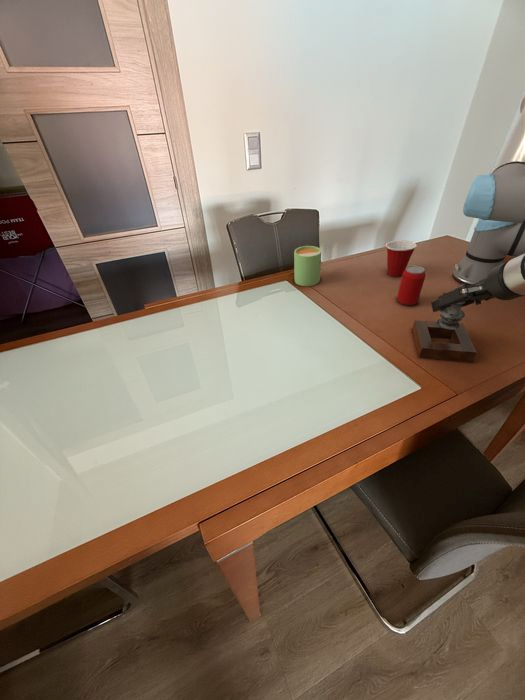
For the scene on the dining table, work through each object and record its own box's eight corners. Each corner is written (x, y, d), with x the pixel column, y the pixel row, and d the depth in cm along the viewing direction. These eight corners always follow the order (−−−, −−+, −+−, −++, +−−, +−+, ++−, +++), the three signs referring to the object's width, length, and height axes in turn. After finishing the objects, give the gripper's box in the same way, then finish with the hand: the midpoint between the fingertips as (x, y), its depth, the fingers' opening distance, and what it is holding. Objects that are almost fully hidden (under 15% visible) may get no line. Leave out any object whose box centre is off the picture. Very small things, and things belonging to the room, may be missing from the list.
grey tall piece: (463, 330, 78) (481, 289, 71) (438, 329, 80) (453, 289, 72) (456, 318, 83) (472, 278, 75) (433, 317, 84) (447, 277, 76)
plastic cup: (397, 265, 125) (404, 236, 117) (415, 276, 117) (423, 245, 109) (374, 270, 123) (379, 241, 115) (391, 282, 115) (398, 251, 107)
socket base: (459, 332, 89) (463, 323, 87) (471, 362, 80) (476, 352, 78) (411, 329, 92) (414, 320, 90) (418, 357, 83) (421, 347, 80)
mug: (323, 284, 118) (325, 254, 110) (296, 287, 117) (296, 257, 110) (316, 270, 127) (317, 242, 120) (291, 273, 127) (291, 245, 119)
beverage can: (417, 297, 106) (426, 265, 98) (417, 307, 101) (427, 274, 93) (396, 295, 108) (403, 263, 100) (396, 305, 103) (404, 272, 95)
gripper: (478, 301, 58) (413, 323, 81) (567, 289, 59) (478, 314, 82) (470, 264, 59) (408, 296, 82) (559, 253, 60) (473, 288, 83)
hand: (444, 305), depth 82 cm, fingers closed on grey tall piece, 5 cm apart
